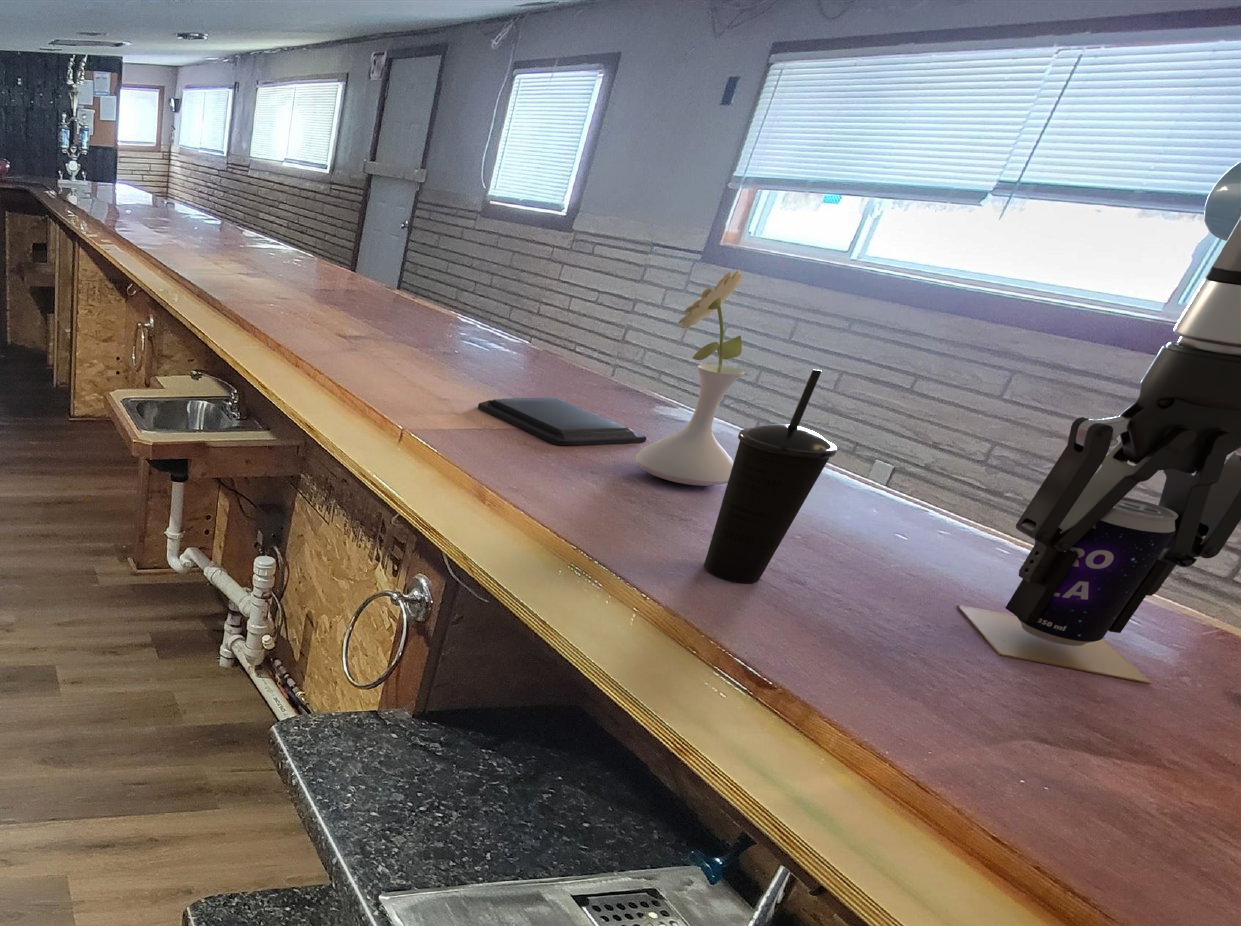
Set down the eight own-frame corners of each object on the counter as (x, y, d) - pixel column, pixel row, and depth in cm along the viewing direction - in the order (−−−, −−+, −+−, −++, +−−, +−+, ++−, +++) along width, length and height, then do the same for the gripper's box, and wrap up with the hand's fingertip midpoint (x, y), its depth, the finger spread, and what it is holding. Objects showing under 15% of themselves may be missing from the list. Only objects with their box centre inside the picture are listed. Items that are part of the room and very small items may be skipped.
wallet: (477, 394, 139) (562, 393, 142) (474, 406, 140) (559, 405, 143) (557, 433, 122) (652, 430, 125) (553, 446, 123) (647, 443, 126)
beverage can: (1013, 612, 81) (1089, 488, 75) (1097, 635, 78) (1184, 508, 72) (1007, 632, 78) (1086, 504, 72) (1095, 657, 74) (1187, 525, 68)
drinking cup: (693, 580, 87) (777, 373, 77) (682, 551, 93) (758, 356, 83) (784, 596, 84) (882, 385, 74) (766, 565, 90) (855, 366, 80)
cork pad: (1091, 630, 81) (1092, 628, 81) (1150, 684, 73) (1151, 682, 72) (956, 606, 84) (957, 604, 84) (999, 654, 76) (1000, 653, 76)
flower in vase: (680, 461, 120) (753, 262, 107) (753, 491, 110) (843, 277, 98) (601, 466, 116) (667, 262, 104) (669, 498, 107) (751, 277, 94)
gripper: (1339, 347, 67) (1150, 614, 79) (1059, 328, 70) (917, 588, 82) (1445, 369, 61) (1224, 656, 73) (1133, 347, 64) (967, 626, 75)
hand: (1061, 619), depth 77 cm, fingers closed on beverage can, 6 cm apart
